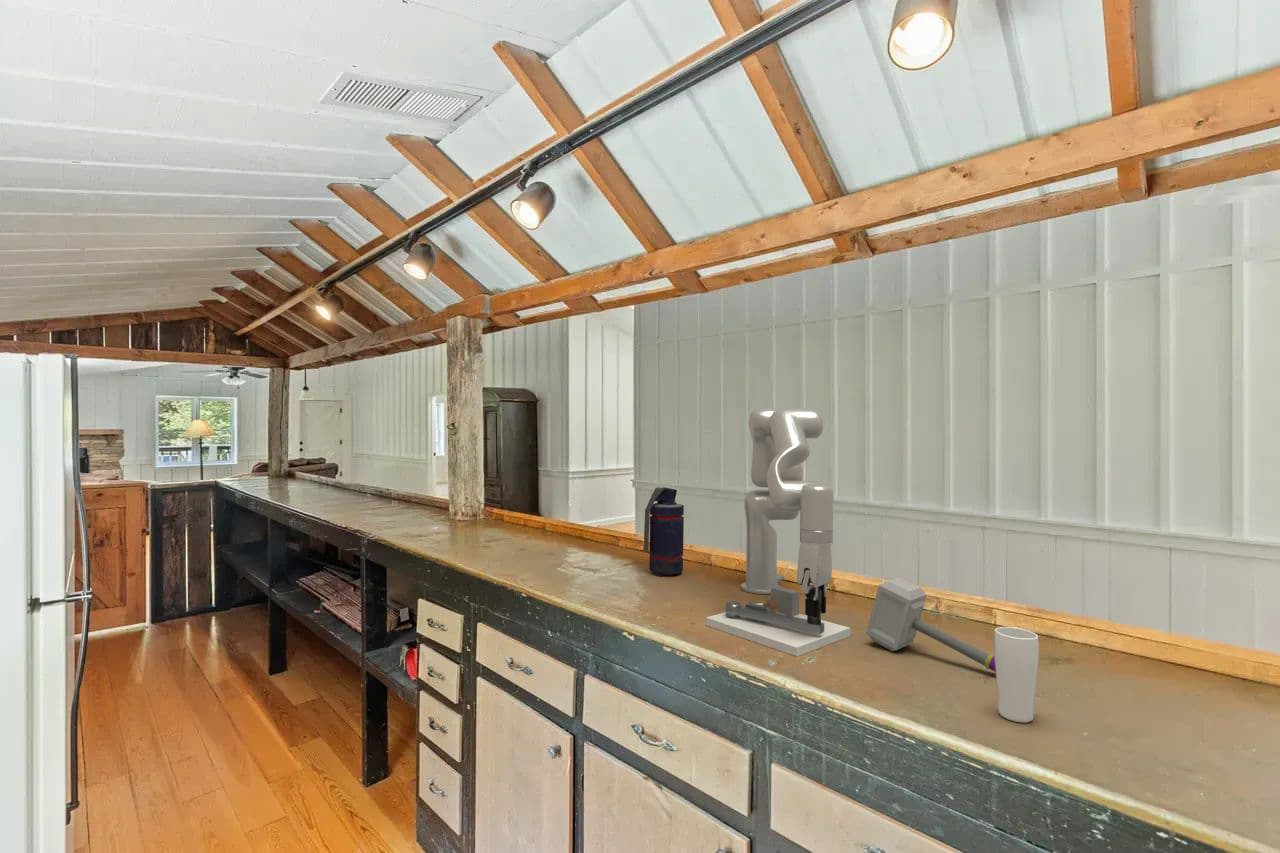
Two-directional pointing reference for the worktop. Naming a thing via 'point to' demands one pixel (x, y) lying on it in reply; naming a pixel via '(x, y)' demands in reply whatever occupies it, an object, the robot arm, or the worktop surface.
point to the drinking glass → (1016, 672)
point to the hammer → (911, 621)
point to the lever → (776, 616)
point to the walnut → (771, 605)
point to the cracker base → (780, 627)
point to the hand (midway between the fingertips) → (815, 613)
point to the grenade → (664, 532)
